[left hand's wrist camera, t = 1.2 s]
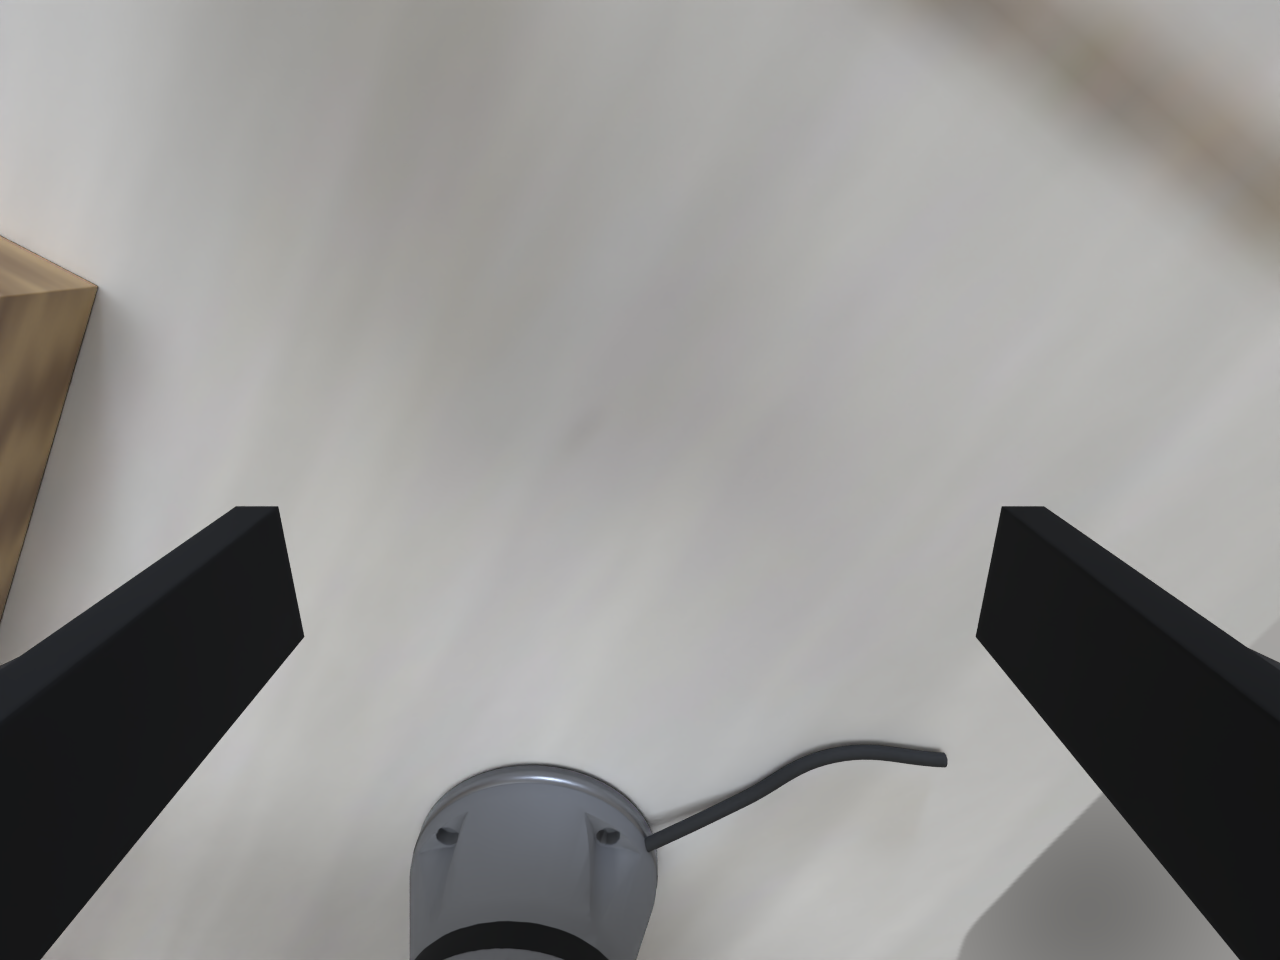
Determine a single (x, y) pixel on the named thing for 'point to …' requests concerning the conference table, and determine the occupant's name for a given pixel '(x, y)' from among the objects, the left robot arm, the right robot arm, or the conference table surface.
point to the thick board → (32, 381)
